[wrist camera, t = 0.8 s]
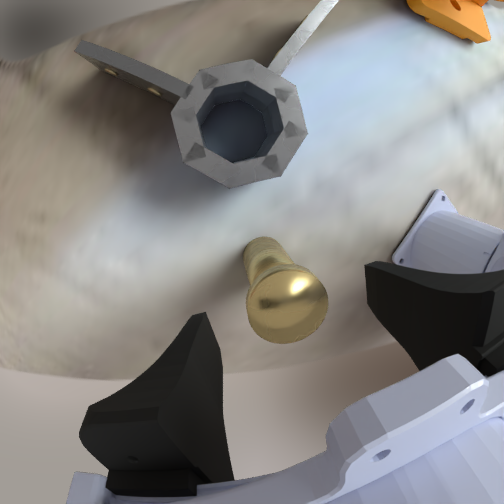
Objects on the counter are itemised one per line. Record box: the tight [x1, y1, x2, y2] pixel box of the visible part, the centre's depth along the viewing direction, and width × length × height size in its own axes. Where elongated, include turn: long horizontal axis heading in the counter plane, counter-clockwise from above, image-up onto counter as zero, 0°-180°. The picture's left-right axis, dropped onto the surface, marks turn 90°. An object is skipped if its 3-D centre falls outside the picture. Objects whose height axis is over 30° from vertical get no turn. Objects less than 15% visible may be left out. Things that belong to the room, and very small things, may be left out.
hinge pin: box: [243, 237, 328, 344], centre depth 17 cm, size 4×4×8 cm
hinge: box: [75, 0, 339, 189], centre depth 14 cm, size 14×14×5 cm
